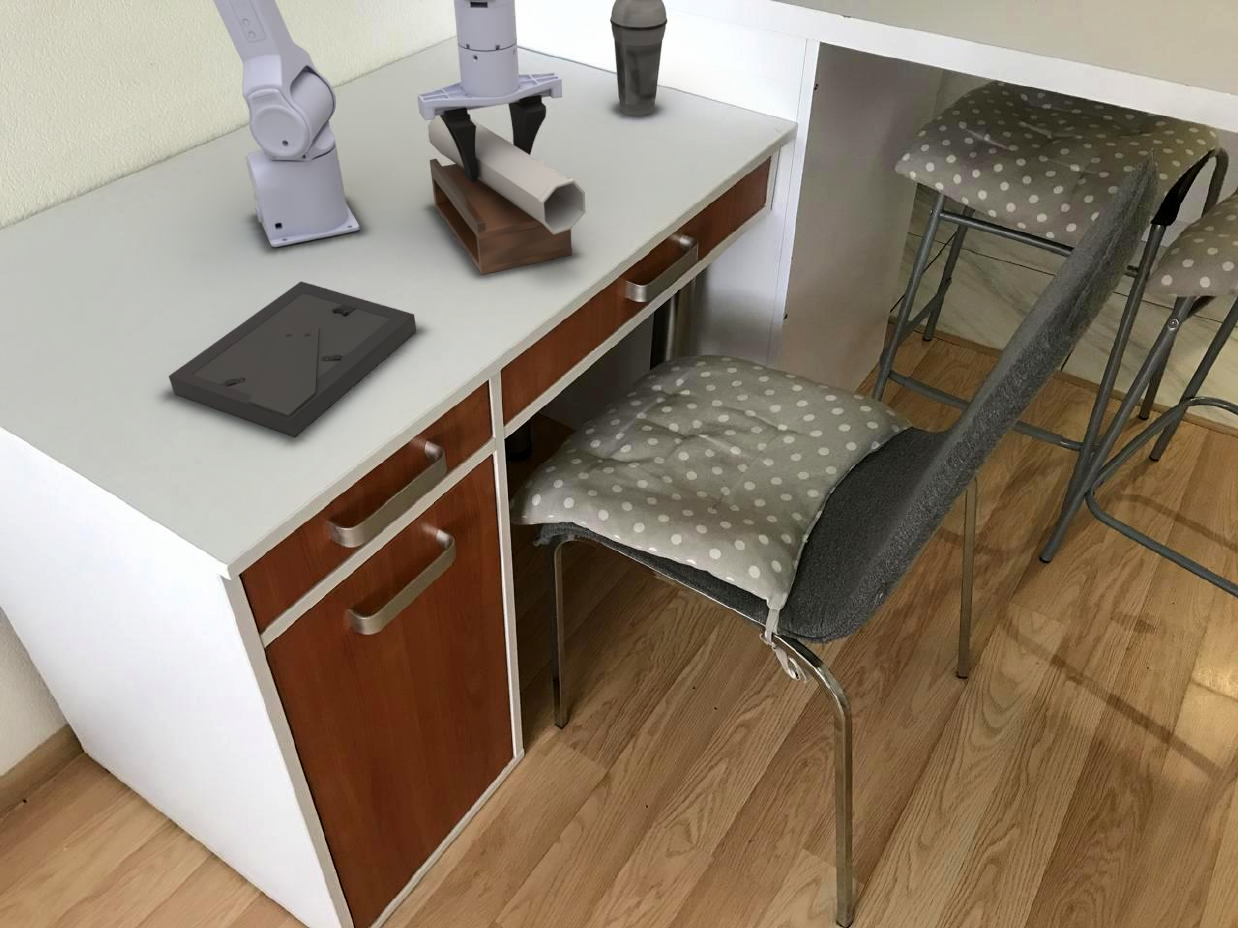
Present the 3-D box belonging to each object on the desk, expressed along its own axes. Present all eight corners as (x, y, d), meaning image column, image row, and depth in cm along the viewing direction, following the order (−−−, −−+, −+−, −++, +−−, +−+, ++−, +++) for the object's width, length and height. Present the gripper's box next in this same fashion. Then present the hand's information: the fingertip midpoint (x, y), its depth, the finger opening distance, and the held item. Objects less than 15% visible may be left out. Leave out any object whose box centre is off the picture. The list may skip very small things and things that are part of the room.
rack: (482, 274, 108) (477, 223, 104) (434, 208, 119) (429, 159, 115) (571, 254, 111) (570, 204, 107) (518, 191, 122) (515, 144, 118)
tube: (410, 118, 115) (533, 200, 100) (450, 92, 116) (577, 170, 101) (429, 158, 119) (551, 244, 104) (467, 133, 120) (592, 214, 105)
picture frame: (295, 437, 88) (416, 331, 100) (289, 416, 86) (413, 311, 99) (173, 394, 92) (304, 297, 104) (166, 373, 91) (300, 277, 103)
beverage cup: (602, 102, 142) (602, -58, 129) (653, 96, 144) (658, -62, 131) (619, 123, 137) (620, -41, 124) (671, 117, 139) (678, -46, 126)
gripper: (541, 18, 107) (546, 146, 116) (402, 38, 102) (419, 170, 111) (568, 40, 102) (571, 172, 111) (424, 63, 97) (439, 198, 106)
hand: (496, 173), depth 111 cm, fingers closed on tube, 5 cm apart
